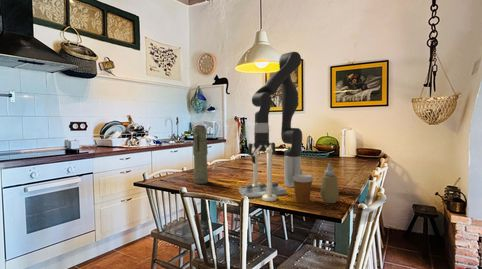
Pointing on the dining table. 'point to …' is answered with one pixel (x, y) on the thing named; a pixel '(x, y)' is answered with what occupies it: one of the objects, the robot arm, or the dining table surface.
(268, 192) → the near post
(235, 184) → the dining table surface
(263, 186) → the middle paddle
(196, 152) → the thermos
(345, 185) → the dining table surface
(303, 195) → the disposable coffee cup
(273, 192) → the breaker panel
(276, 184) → the paddle
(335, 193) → the squeeze bottle
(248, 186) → the paddle
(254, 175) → the far post
